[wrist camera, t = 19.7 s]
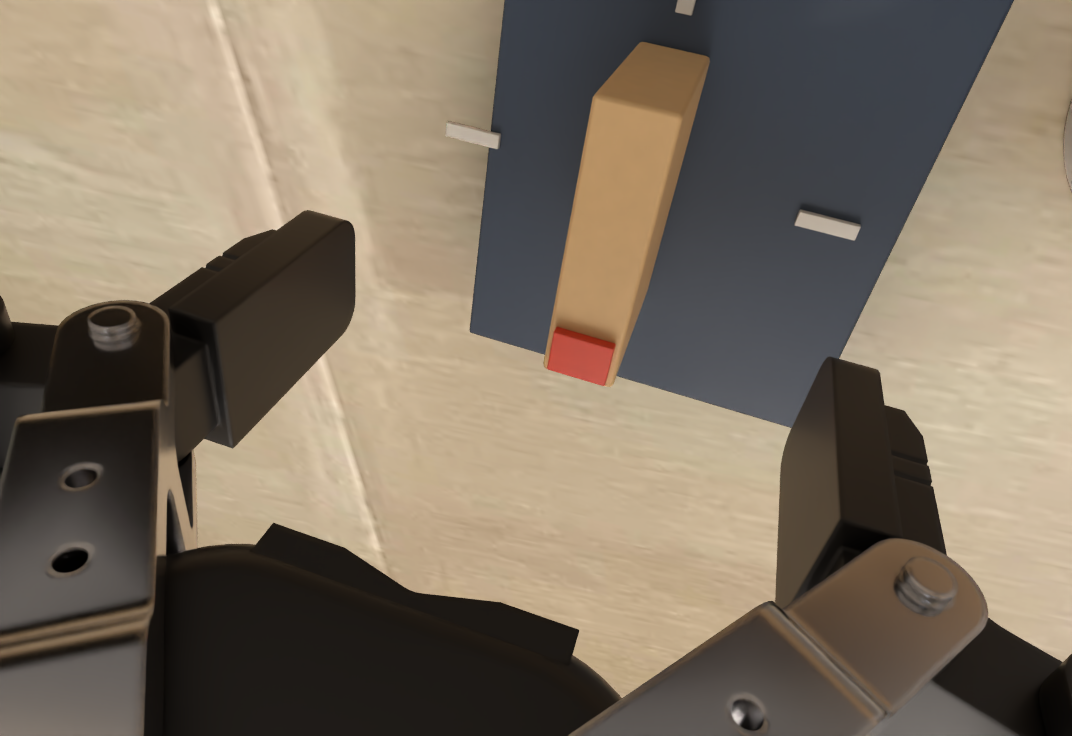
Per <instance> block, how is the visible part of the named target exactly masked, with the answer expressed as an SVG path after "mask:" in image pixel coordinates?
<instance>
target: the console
mask: <svg viewBox="0 0 1072 736" xmlns="http://www.w3.org/2000/svg"><path fill="white" fill-rule="evenodd" d="M1013 1H1014V0H505V2H504V11H503V20H502V30H501V39H500V49H499V58H498V68H497V77H496V87H495V96H494V105H493V115H492V124H491V131H487V130H484V129H480V128H476V127H472V126H468V125H464V124H460V123H456V122H452V121H448V122H447V124H446V136H447V137H451V138H455V139H459V140H463V141H467V142H471V143H475V144H478V145H482V146H486V147H489V153H488V162H487V172H486V181H485V190H484V200H483V209H482V219H481V228H480V238H479V247H478V257H477V266H476V275H475V285H474V294H473V304H472V313H471V323H470V332H471V333H474V334H477V335H480V336H484V337H487V338H490V339H494V340H497V341H501V342H504V343H507V344H511V345H514V346H517V347H521V348H524V349H528V350H531V351H534V352H538V353H541V354H544V355H545V352H546V347H547V341H548V336H549V330H550V325H551V320H552V314H553V309H554V304H555V298H556V293H557V287H558V282H559V277H560V271H561V266H562V260H563V255H564V250H565V244H566V239H567V234H568V228H569V223H570V217H571V212H572V207H573V201H574V196H575V190H576V185H577V180H578V174H579V169H580V164H581V158H582V153H583V147H584V142H585V137H586V131H587V126H588V120H589V115H590V110H591V104H592V99H593V96H594V95H595V93H596V92H597V91H598V90H599V89H600V88H601V87H602V85H603V84H604V83H605V82H606V81H607V80H608V79H609V77H610V76H611V75H612V74H613V73H614V72H615V70H616V69H617V68H618V67H619V66H620V65H621V64H622V62H623V61H624V60H625V59H626V58H627V57H628V56H629V54H630V53H631V52H632V51H633V50H634V49H635V47H636V46H637V45H638V44H639V43H640V42H647V43H651V44H655V45H660V46H664V47H669V48H673V49H678V50H682V51H686V52H691V53H695V54H700V55H704V56H707V57H709V59H710V63H709V67H708V70H707V74H706V78H705V81H704V85H703V89H702V92H701V96H700V100H699V103H698V107H697V111H696V114H695V118H694V122H693V125H692V129H691V133H690V136H689V140H688V144H687V147H686V151H685V155H684V158H683V162H682V166H681V169H680V173H679V177H678V180H677V184H676V188H675V191H674V195H673V199H672V202H671V206H670V210H669V213H668V217H667V221H666V224H665V228H664V232H663V235H662V239H661V243H660V246H659V250H658V254H657V257H656V261H655V265H654V268H653V272H652V276H651V279H650V283H649V287H648V290H647V293H646V296H645V299H644V301H643V304H642V307H641V310H640V312H639V315H638V318H637V321H636V323H635V326H634V329H633V332H632V334H631V337H630V340H629V343H628V345H627V348H626V351H625V354H624V356H623V359H622V362H621V364H620V367H619V370H618V373H617V375H616V376H619V377H622V378H625V379H629V380H632V381H635V382H639V383H642V384H645V385H649V386H652V387H656V388H659V389H662V390H666V391H669V392H672V393H676V394H679V395H683V396H686V397H689V398H693V399H696V400H699V401H703V402H706V403H709V404H713V405H716V406H720V407H723V408H726V409H730V410H733V411H736V412H740V413H743V414H747V415H750V416H753V417H757V418H760V419H763V420H767V421H770V422H773V423H777V424H780V425H784V426H787V427H790V428H792V426H793V424H794V422H795V420H796V418H797V416H798V414H799V412H800V409H801V407H802V405H803V403H804V401H805V399H806V397H807V395H808V393H809V390H810V388H811V386H812V384H813V382H814V380H815V378H816V376H817V373H818V371H819V369H820V367H821V365H822V364H823V362H824V361H825V359H826V358H827V357H834V358H837V359H839V357H840V355H841V353H842V351H843V349H844V347H845V345H846V343H847V341H848V339H849V337H850V335H851V333H852V331H853V329H854V327H855V325H856V323H857V321H858V318H859V316H860V314H861V312H862V310H863V308H864V306H865V304H866V302H867V300H868V298H869V296H870V294H871V292H872V290H873V288H874V286H875V284H876V282H877V280H878V278H879V276H880V273H881V271H882V269H883V267H884V265H885V263H886V261H887V259H888V257H889V255H890V253H891V251H892V249H893V247H894V245H895V243H896V241H897V239H898V237H899V235H900V233H901V230H902V228H903V226H904V224H905V222H906V220H907V218H908V216H909V214H910V212H911V210H912V208H913V206H914V204H915V202H916V200H917V198H918V196H919V194H920V192H921V190H922V188H923V185H924V183H925V181H926V179H927V177H928V175H929V173H930V171H931V169H932V167H933V165H934V163H935V161H936V159H937V157H938V155H939V153H940V151H941V149H942V147H943V145H944V142H945V140H946V138H947V136H948V134H949V132H950V130H951V128H952V126H953V124H954V122H955V120H956V118H957V116H958V114H959V112H960V110H961V108H962V106H963V104H964V102H965V100H966V97H967V95H968V93H969V91H970V89H971V87H972V85H973V83H974V81H975V79H976V77H977V75H978V73H979V71H980V69H981V67H982V65H983V63H984V61H985V59H986V57H987V54H988V52H989V50H990V48H991V46H992V44H993V42H994V40H995V38H996V36H997V34H998V32H999V30H1000V28H1001V26H1002V24H1003V22H1004V20H1005V18H1006V16H1007V14H1008V12H1009V9H1010V7H1011V5H1012V3H1013Z"/></svg>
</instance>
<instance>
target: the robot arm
mask: <svg viewBox="0 0 1072 736" xmlns="http://www.w3.org/2000/svg"><path fill="white" fill-rule="evenodd" d="M354 307H355V232H354V228H353V226H352V224H351V223H350V222H349V221H346V220H342V219H339V218H335V217H332V216H328V215H324V214H321V213H317V212H314V211H310V210H307V211H304V212H302V213H301V214H299V215H298V216H296V217H295V218H294V219H292V220H291V221H289V222H288V223H287V224H285V225H284V226H282V227H281V228H280V229H278V230H277V231H276V230H273V229H272V230H269V231H266V232H263V233H260V234H257V235H254V236H251V237H247V238H244V239H243V240H241V241H240V242H238V243H237V244H235V245H234V246H232V247H231V248H229V249H228V250H226V251H225V252H224V253H223V256H218V257H216V258H215V259H213V260H212V261H210V262H209V263H208V264H206V268H203V267H202V268H200V269H199V270H197V271H196V272H194V273H193V274H192V275H190V276H189V277H187V278H186V279H184V280H183V281H181V282H180V283H178V284H177V285H176V286H174V287H173V288H171V289H170V290H168V291H167V292H165V293H164V294H162V295H161V296H160V297H158V298H157V299H155V300H154V301H152V302H151V303H149V304H148V303H145V302H139V301H130V300H118V301H108V302H102V303H98V304H94V305H90V306H87V307H85V308H82V309H80V310H78V311H76V312H74V313H72V314H71V315H69V316H68V317H66V318H65V319H64V320H63V321H62V322H61V323H60V325H59V326H56V325H44V324H31V323H19V322H11V321H10V318H9V315H8V312H7V310H6V307H5V304H4V301H3V299H2V297H1V296H0V736H1072V654H1071V655H1070V656H1069V657H1068V658H1067V659H1066V660H1065V661H1064V662H1061V661H1060V660H1058V659H1056V658H1054V657H1052V656H1051V655H1049V654H1047V653H1045V652H1044V651H1042V650H1040V649H1038V648H1037V647H1035V646H1033V645H1031V644H1030V643H1028V642H1026V641H1024V640H1023V639H1021V638H1019V637H1017V636H1015V635H1014V634H1012V633H1010V632H1009V631H1007V630H1005V629H1004V628H1002V627H1001V626H999V625H998V624H996V623H995V622H994V621H992V620H991V619H990V618H988V608H987V603H986V600H985V598H984V595H983V593H982V592H981V590H980V588H979V586H978V585H977V584H976V582H975V581H974V580H973V578H972V577H971V576H970V575H969V574H968V573H967V572H966V571H965V570H964V569H963V568H962V567H961V566H960V565H958V564H957V563H956V562H955V561H953V560H952V559H951V558H949V557H948V556H947V554H946V549H945V544H944V539H943V534H942V529H941V524H940V519H939V514H938V509H937V504H936V499H935V494H934V489H933V487H932V486H931V483H932V479H931V474H930V469H929V466H927V462H928V459H927V454H926V449H925V445H924V440H923V436H922V435H921V433H920V432H919V430H918V429H917V428H916V426H915V425H914V423H913V422H912V421H911V419H910V418H909V417H908V415H907V414H906V412H905V411H903V410H900V409H896V408H893V407H889V406H886V405H884V399H883V392H882V385H881V378H880V373H879V371H878V370H877V369H873V368H870V367H866V366H862V365H859V364H855V363H852V362H848V361H844V360H841V359H837V358H834V357H827V358H826V359H825V361H824V362H823V364H822V365H821V367H820V369H819V371H818V373H817V376H816V378H815V380H814V382H813V384H812V386H811V388H810V390H809V393H808V395H807V397H806V399H805V401H804V403H803V405H802V407H801V409H800V412H799V414H798V416H797V418H796V420H795V422H794V424H793V426H792V429H791V431H790V433H789V436H788V439H787V442H786V445H785V448H784V452H783V456H782V462H781V473H780V498H779V523H778V548H777V573H776V598H775V602H773V601H768V602H765V603H763V604H761V605H759V606H757V607H756V608H754V609H752V610H751V611H750V612H748V613H747V614H745V615H744V616H742V617H741V618H739V619H738V620H736V621H735V622H733V623H732V624H730V625H729V626H728V627H726V628H725V629H723V630H722V631H720V632H719V633H717V634H716V635H714V636H713V637H711V638H710V639H708V640H707V641H706V642H704V643H703V644H701V645H700V646H698V647H697V648H695V649H694V650H692V651H691V652H689V653H688V654H686V655H685V656H684V657H682V658H681V659H679V660H678V661H676V662H675V663H673V664H672V665H670V666H669V667H667V668H666V669H665V670H663V671H662V672H660V673H659V674H657V675H656V676H654V677H653V678H651V679H650V680H648V681H647V682H645V683H644V684H643V685H641V686H640V687H638V688H637V689H635V690H634V691H632V692H631V693H629V694H628V695H626V696H625V697H623V698H621V697H620V695H619V694H618V693H617V692H616V691H615V690H614V689H613V688H612V687H611V686H610V685H609V684H608V683H607V682H606V681H605V680H604V679H603V678H602V677H601V676H600V675H599V674H597V673H596V672H595V671H594V670H593V669H591V668H590V667H589V666H588V665H587V664H585V663H584V662H582V661H581V660H579V659H578V658H576V657H575V656H573V655H572V654H573V650H574V647H575V643H576V640H577V637H578V633H579V630H578V629H575V628H572V627H569V626H566V625H563V624H561V623H558V622H555V621H552V620H549V619H546V618H543V617H541V616H538V615H535V614H532V613H529V612H526V611H523V610H521V609H518V608H515V607H512V606H509V605H506V604H503V603H501V602H492V601H483V600H475V599H466V598H457V597H448V596H439V595H430V594H421V593H416V592H413V591H410V590H408V589H406V588H404V587H403V586H401V585H400V584H398V583H397V582H395V581H394V580H392V579H391V578H389V577H388V576H386V575H385V574H383V573H382V572H380V571H379V570H377V569H376V568H374V567H373V566H371V565H370V564H368V563H367V562H365V561H364V560H362V559H361V558H359V557H358V556H356V555H355V554H353V553H352V552H350V551H349V550H347V549H346V548H344V547H341V546H338V545H335V544H332V543H329V542H326V541H324V540H321V539H318V538H315V537H312V536H309V535H307V534H304V533H301V532H298V531H295V530H292V529H289V528H287V527H284V526H281V525H278V524H275V523H273V524H272V525H271V526H270V528H269V529H268V530H267V531H266V533H265V534H264V535H263V536H262V538H261V539H260V540H259V541H258V543H257V544H256V545H253V544H225V545H215V546H206V547H201V548H198V530H197V488H196V460H195V455H194V448H195V447H196V446H197V445H198V444H199V443H200V442H201V441H202V440H203V439H207V440H210V441H213V442H215V443H218V444H221V445H224V446H227V447H230V448H234V447H235V446H236V445H237V444H238V443H239V442H240V441H241V440H242V439H243V438H244V436H245V435H246V434H247V433H248V432H249V431H250V430H251V429H252V428H253V427H254V426H255V425H256V424H257V423H258V422H259V421H260V420H261V419H262V418H263V417H264V416H265V415H266V414H267V413H268V411H269V410H270V409H271V408H272V407H273V406H274V405H275V404H276V403H277V402H278V401H279V400H280V399H281V398H282V397H283V396H284V395H285V394H286V393H287V392H288V391H289V390H290V389H291V388H292V387H293V385H294V384H295V383H296V382H297V381H298V380H299V379H300V378H301V377H302V376H303V375H304V374H305V373H306V372H307V371H308V370H309V369H310V368H311V367H312V366H313V365H314V364H315V363H316V362H317V361H318V359H319V358H320V357H321V356H322V355H323V354H324V353H325V352H326V351H327V350H328V349H329V348H330V347H331V346H332V345H333V344H334V343H335V342H336V341H337V340H338V339H339V338H340V337H341V336H342V334H343V333H344V332H345V331H346V329H347V327H348V325H349V323H350V321H351V318H352V316H353V312H354Z"/></svg>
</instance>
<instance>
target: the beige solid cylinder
mask: <svg viewBox="0 0 1072 736" xmlns="http://www.w3.org/2000/svg"><path fill="white" fill-rule="evenodd" d="M1064 163H1065V170H1066V175H1067V179H1068V183H1069V186H1070V189H1071V191H1072V101H1071V104H1070V108H1069V111H1068V115H1067V120H1066V125H1065V133H1064Z"/></svg>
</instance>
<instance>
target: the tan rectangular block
mask: <svg viewBox="0 0 1072 736" xmlns="http://www.w3.org/2000/svg"><path fill="white" fill-rule="evenodd" d="M709 63H710V59H709V57H707V56H704V55H700V54H695V53H691V52H686V51H682V50H678V49H673V48H669V47H664V46H660V45H655V44H651V43H647V42H640V43H639V44H638V45H637V46H636V47H635V49H634V50H633V51H632V52H631V53H630V54H629V56H628V57H627V58H626V59H625V60H624V61H623V62H622V64H621V65H620V66H619V67H618V68H617V69H616V70H615V72H614V73H613V74H612V75H611V76H610V77H609V79H608V80H607V81H606V82H605V83H604V84H603V85H602V87H601V88H600V89H599V90H598V91H597V92H596V93H595V95H594V96H593V99H592V104H591V110H590V115H589V120H588V126H587V131H586V137H585V142H584V147H583V153H582V158H581V164H580V169H579V174H578V180H577V185H576V190H575V196H574V201H573V207H572V212H571V217H570V223H569V228H568V234H567V239H566V244H565V250H564V255H563V260H562V266H561V271H560V277H559V282H558V287H557V293H556V298H555V304H554V309H553V314H552V320H551V325H550V330H549V336H548V341H547V347H546V352H545V357H544V367H545V368H547V369H548V370H552V371H555V372H558V373H562V374H565V375H568V376H572V377H575V378H578V379H582V380H585V381H588V382H592V383H595V384H598V385H602V386H607V387H611V386H612V385H613V384H614V381H615V378H616V375H617V373H618V370H619V367H620V364H621V362H622V359H623V356H624V354H625V351H626V348H627V345H628V343H629V340H630V337H631V334H632V332H633V329H634V326H635V323H636V321H637V318H638V315H639V312H640V310H641V307H642V304H643V301H644V299H645V296H646V293H647V290H648V287H649V283H650V279H651V276H652V272H653V268H654V265H655V261H656V257H657V254H658V250H659V246H660V243H661V239H662V235H663V232H664V228H665V224H666V221H667V217H668V213H669V210H670V206H671V202H672V199H673V195H674V191H675V188H676V184H677V180H678V177H679V173H680V169H681V166H682V162H683V158H684V155H685V151H686V147H687V144H688V140H689V136H690V133H691V129H692V125H693V122H694V118H695V114H696V111H697V107H698V103H699V100H700V96H701V92H702V89H703V85H704V81H705V78H706V74H707V70H708V67H709Z"/></svg>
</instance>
